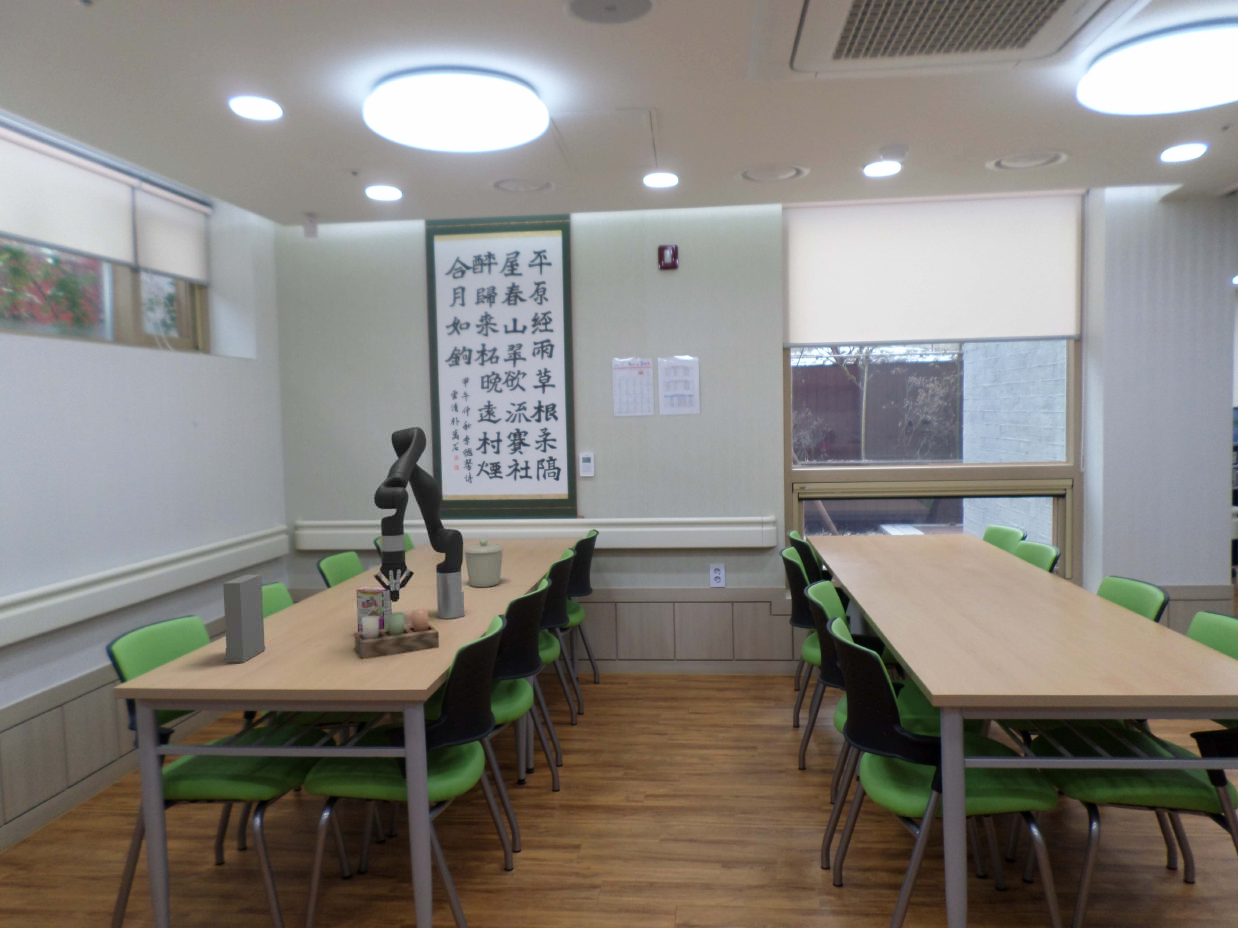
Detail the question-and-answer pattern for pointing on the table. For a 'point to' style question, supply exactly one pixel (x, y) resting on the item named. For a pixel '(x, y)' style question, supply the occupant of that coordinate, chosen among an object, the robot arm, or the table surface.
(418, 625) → the pink candle
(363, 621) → the button cream
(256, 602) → the upright grey tower
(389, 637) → the button board
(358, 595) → the candy bar box
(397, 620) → the green pillar candle
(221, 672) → the table surface
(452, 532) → the robot arm
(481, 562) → the canister
